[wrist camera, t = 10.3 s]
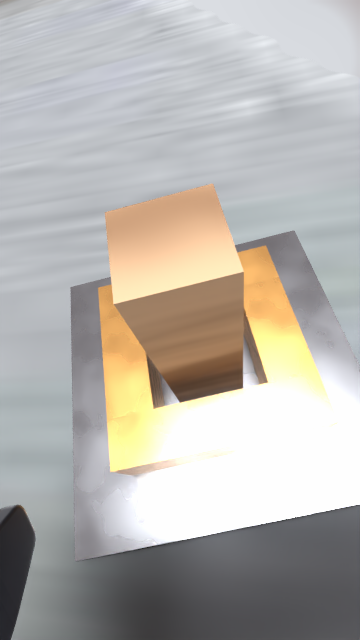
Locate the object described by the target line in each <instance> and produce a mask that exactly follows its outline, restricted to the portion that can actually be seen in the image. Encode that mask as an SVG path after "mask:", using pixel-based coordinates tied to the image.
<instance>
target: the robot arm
mask: <svg viewBox="0 0 360 640" xmlns="http://www.w3.org/2000/svg"><path fill="white" fill-rule="evenodd" d="M35 541H36V536H35V531H34V529H33V526H32V524H31V522H30V520H29V518H28V516H27V514H26V511H25V509H24V508H23V507H22V506H21V505H13V506H9V507H4V508H2V509H0V640H11V637H12V634H13V631H14V627H15V624H16V620H17V616H18V613H19V609H20V605H21V600H22V596H23V592H24V588H25V584H26V580H27V576H28V572H29V568H30V563H31V559H32V555H33V551H34V547H35Z"/></svg>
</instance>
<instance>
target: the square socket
mask: <svg viewBox="0 0 360 640" xmlns="http://www.w3.org/2000/svg"><path fill="white" fill-rule="evenodd" d="M235 248H236V251H237V254H238V256H239V259H240V262H241V265H242V268H243V271H244V328H243V388H241V389H237V390H232V391H228V392H223V393H219V394H215V395H210V396H206V397H202V398H197V399H193V400H188V401H184V402H179V400H178V399H177V397H176V396H175V395H174V393H173V392H172V390H171V389H170V387H169V386H168V384H167V383H166V381H165V380H164V378H163V377H162V375H161V374H160V372H159V371H158V369H157V368H156V366H155V365H154V363H153V362H152V360H151V359H150V357H149V356H148V354H147V353H146V352H145V350H144V349H143V347H142V346H141V344H140V343H139V341H138V340H137V338H136V337H135V335H134V334H133V332H132V331H131V329H130V328H129V326H128V325H127V323H126V322H125V320H124V319H123V317H122V316H121V314H120V313H119V312H118V310H117V309H116V307H115V306H114V304H113V293H112V283H111V277H109V278H105V279H101V280H97V281H93V282H89V283H85V284H81V285H78V286H74V287H71V340H72V401H73V463H74V524H75V561H80V560H85V559H90V558H95V557H100V556H105V555H110V554H115V553H120V552H125V551H130V550H135V549H139V548H144V547H149V546H154V545H159V544H164V543H169V542H174V541H179V540H184V539H189V538H194V537H199V536H204V535H209V534H214V533H219V532H224V531H229V530H234V529H239V528H244V527H248V526H253V525H258V524H263V523H268V522H273V521H278V520H283V519H288V518H293V517H298V516H303V515H308V514H313V513H318V512H323V511H328V510H333V509H338V508H343V507H348V506H352V505H357V504H360V365H359V363H358V361H357V359H356V357H355V355H354V353H353V351H352V349H351V347H350V344H349V342H348V340H347V338H346V336H345V334H344V332H343V330H342V328H341V326H340V324H339V322H338V320H337V318H336V316H335V314H334V312H333V309H332V307H331V305H330V303H329V301H328V299H327V297H326V295H325V293H324V291H323V289H322V287H321V285H320V283H319V281H318V279H317V276H316V274H315V272H314V270H313V268H312V266H311V264H310V262H309V260H308V258H307V256H306V254H305V252H304V250H303V248H302V246H301V244H300V241H299V239H298V237H297V235H296V233H295V231H290V232H286V233H282V234H278V235H274V236H270V237H266V238H262V239H258V240H255V241H251V242H247V243H243V244H239V245H235Z"/></svg>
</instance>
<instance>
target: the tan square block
mask: <svg viewBox="0 0 360 640" xmlns="http://www.w3.org/2000/svg"><path fill="white" fill-rule="evenodd" d="M105 219H106V230H107V240H108V251H109V261H110V272H111V283H112V293H113V304H114V306H115V307H116V309H117V310H118V312H119V313H120V314H121V316H122V317H123V319H124V320H125V322H126V323H127V325H128V326H129V328H130V329H131V331H132V332H133V334H134V335H135V337H136V338H137V340H138V341H139V343H140V344H141V346H142V347H143V349H144V350H145V352H146V353H147V354H148V356H149V357H150V359H151V360H152V362H153V363H154V365H155V366H156V368H157V369H158V371H159V372H160V374H161V375H162V377H163V378H164V380H165V381H166V383H167V384H168V386H169V387H170V389H171V390H172V392H173V393H174V395H175V396H176V397H177V399H178V400H179V402H184V401H188V400H193V399H197V398H202V397H206V396H210V395H215V394H219V393H223V392H228V391H232V390H237V389H241V388H243V328H244V271H243V268H242V265H241V262H240V259H239V256H238V254H237V251H236V248H235V245H234V242H233V239H232V237H231V234H230V231H229V228H228V225H227V222H226V219H225V217H224V214H223V211H222V208H221V205H220V202H219V200H218V197H217V194H216V191H215V188H214V185H213V184H209V185H206V186H202V187H198V188H194V189H191V190H187V191H183V192H179V193H176V194H172V195H168V196H164V197H161V198H157V199H153V200H149V201H146V202H142V203H138V204H134V205H131V206H127V207H123V208H120V209H116V210H112V211H108V212H105Z"/></svg>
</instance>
